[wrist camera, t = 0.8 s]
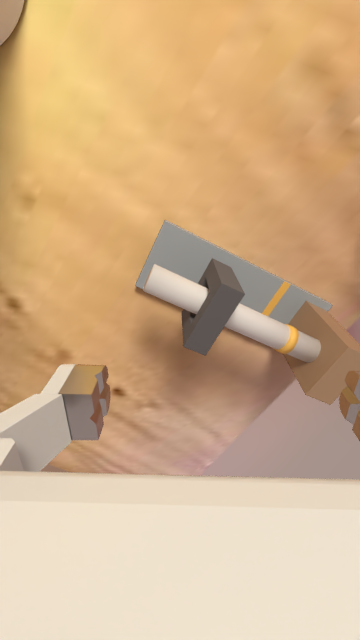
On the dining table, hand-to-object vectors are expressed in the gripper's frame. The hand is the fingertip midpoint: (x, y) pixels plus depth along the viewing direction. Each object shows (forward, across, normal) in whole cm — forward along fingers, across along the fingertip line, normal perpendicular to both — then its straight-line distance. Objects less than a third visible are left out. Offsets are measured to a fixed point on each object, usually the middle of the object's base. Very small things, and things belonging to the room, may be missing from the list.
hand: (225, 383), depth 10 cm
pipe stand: (+30, -5, +8) cm, 31 cm away
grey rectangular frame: (+25, -1, +6) cm, 26 cm away
